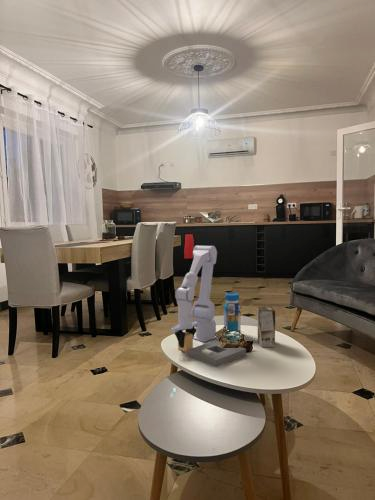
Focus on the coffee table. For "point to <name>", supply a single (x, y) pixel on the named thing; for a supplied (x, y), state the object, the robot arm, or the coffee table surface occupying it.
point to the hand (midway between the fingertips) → (185, 345)
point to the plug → (187, 342)
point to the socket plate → (215, 353)
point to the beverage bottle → (232, 312)
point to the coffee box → (266, 326)
